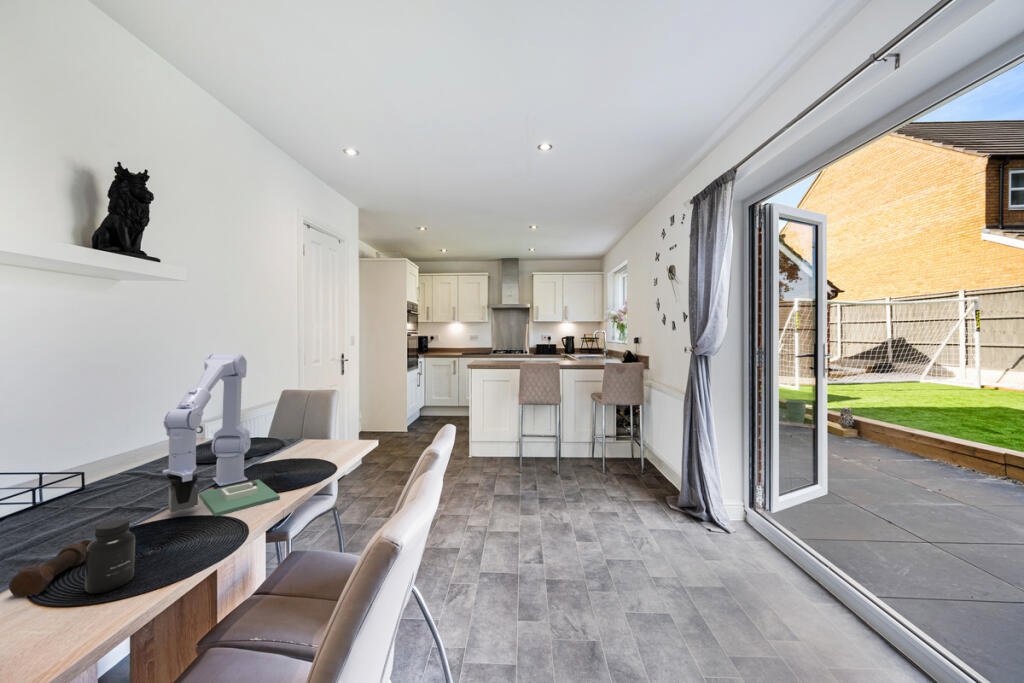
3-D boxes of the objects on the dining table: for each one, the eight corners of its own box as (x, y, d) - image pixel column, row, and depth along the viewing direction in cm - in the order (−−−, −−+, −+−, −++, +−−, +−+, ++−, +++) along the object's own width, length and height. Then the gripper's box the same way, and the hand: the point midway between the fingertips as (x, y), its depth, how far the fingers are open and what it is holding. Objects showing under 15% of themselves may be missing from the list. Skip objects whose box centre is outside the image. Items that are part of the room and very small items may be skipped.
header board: (199, 495, 119) (199, 486, 119) (258, 482, 131) (258, 473, 131) (215, 516, 106) (215, 506, 106) (279, 499, 118) (279, 490, 118)
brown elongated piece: (92, 561, 87) (31, 604, 72) (68, 553, 86) (0, 594, 71) (109, 537, 88) (52, 574, 73) (85, 529, 87) (22, 564, 72)
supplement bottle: (119, 591, 74) (121, 530, 74) (74, 597, 72) (76, 534, 72) (142, 571, 81) (143, 514, 81) (101, 575, 79) (102, 518, 79)
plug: (168, 508, 106) (168, 486, 106) (195, 501, 110) (195, 480, 110) (170, 512, 103) (171, 490, 103) (198, 505, 108) (199, 484, 108)
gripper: (159, 449, 108) (158, 496, 108) (167, 460, 99) (166, 513, 99) (191, 444, 113) (190, 489, 113) (202, 455, 104) (201, 504, 104)
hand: (181, 500), depth 106 cm, fingers closed on plug, 4 cm apart
